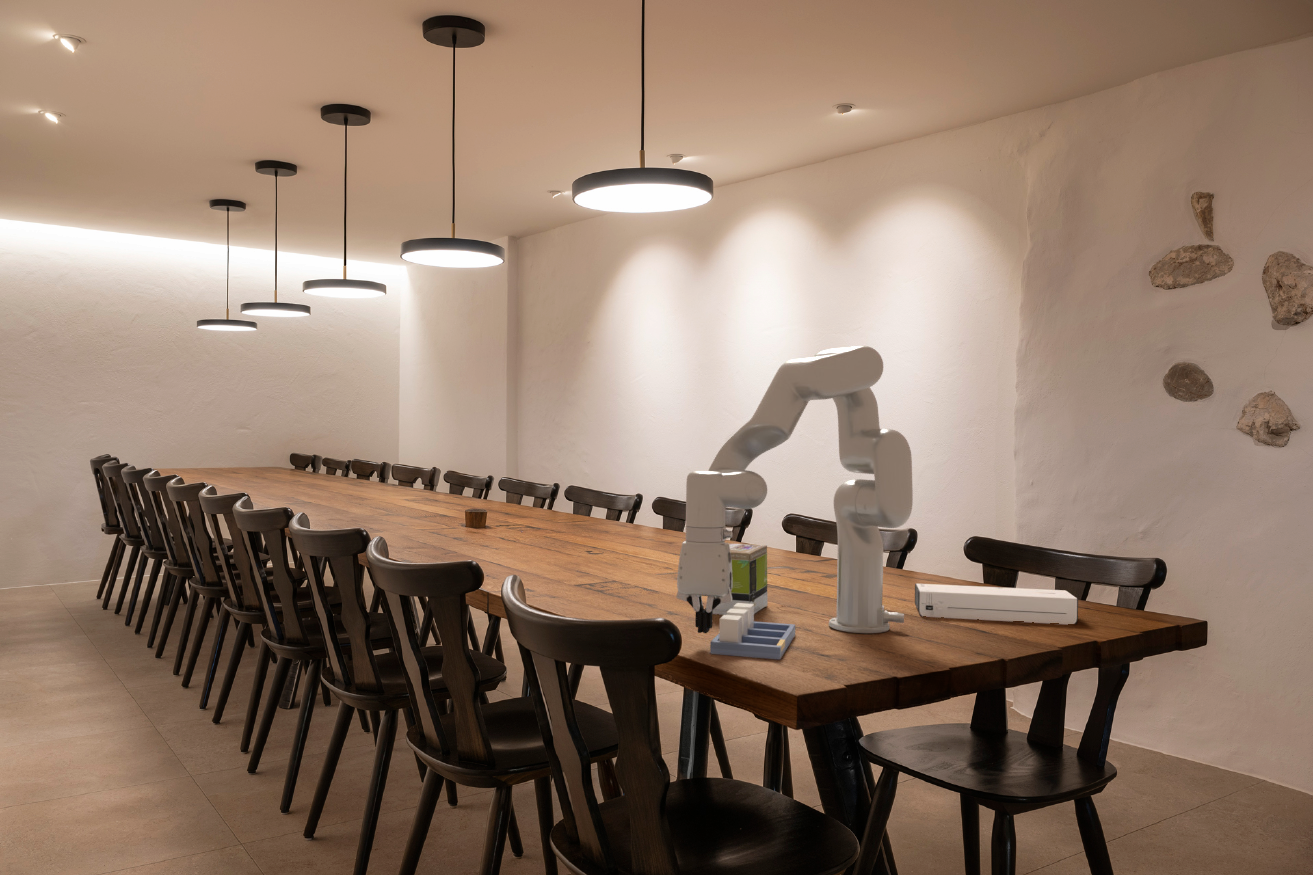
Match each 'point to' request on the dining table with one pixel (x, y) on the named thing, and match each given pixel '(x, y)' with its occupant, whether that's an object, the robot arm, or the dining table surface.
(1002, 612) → the laminator
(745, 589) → the tea box
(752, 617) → the tab
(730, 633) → the tab
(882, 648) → the dining table surface
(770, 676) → the dining table surface
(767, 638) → the blue compartment tray
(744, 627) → the tab
